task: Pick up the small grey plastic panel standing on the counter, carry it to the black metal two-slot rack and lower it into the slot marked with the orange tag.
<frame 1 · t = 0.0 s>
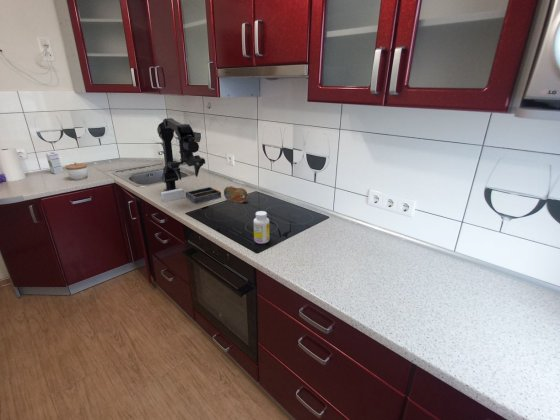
hand: (188, 178, 161), 15 cm above the worktop, tool pointing down, fingers open, 9 cm apart
lidded bowl: (79, 178, 207), on the worktop
rack: (203, 197, 176), on the worktop
supplement bottle: (261, 240, 129), on the worktop
panel: (173, 199, 173), on the worktop
syrup box: (57, 173, 218), on the worktop
tin: (236, 201, 172), on the worktop
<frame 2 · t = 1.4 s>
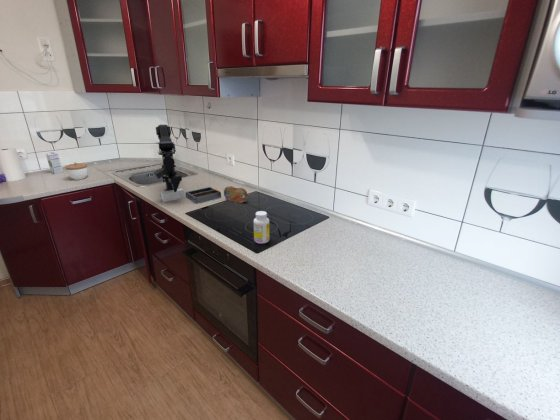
hand: (171, 189, 171), 5 cm above the worktop, tool pointing down, fingers open, 9 cm apart
nothing on the worktop moved.
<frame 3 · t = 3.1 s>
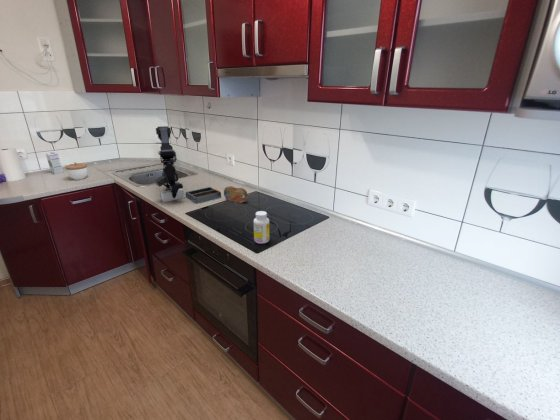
hand: (172, 197, 173), 1 cm above the worktop, tool pointing down, fingers closed on panel, 3 cm apart
panel: (173, 198, 173), on the worktop, touching gripper
everything else where it was.
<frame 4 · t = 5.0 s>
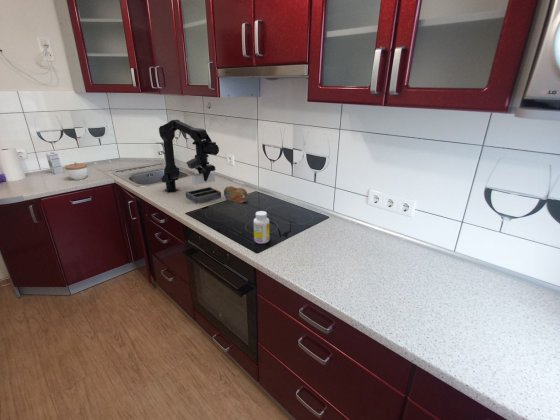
hand: (204, 180, 170), 11 cm above the worktop, tool pointing down, fingers closed on panel, 3 cm apart
panel: (204, 182, 170), point 10 cm above the worktop, touching gripper
everything else where it was.
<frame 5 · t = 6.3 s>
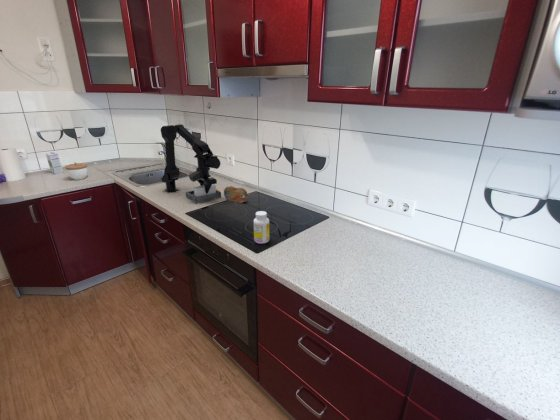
hand: (205, 192, 173), 4 cm above the worktop, tool pointing down, fingers closed on panel, 3 cm apart
panel: (205, 194, 173), point 3 cm above the worktop, touching gripper
everything else where it was.
when the fingers open (3 cm above the worktop, at t = 7.1 s): panel drops 1 cm, resting on rack.
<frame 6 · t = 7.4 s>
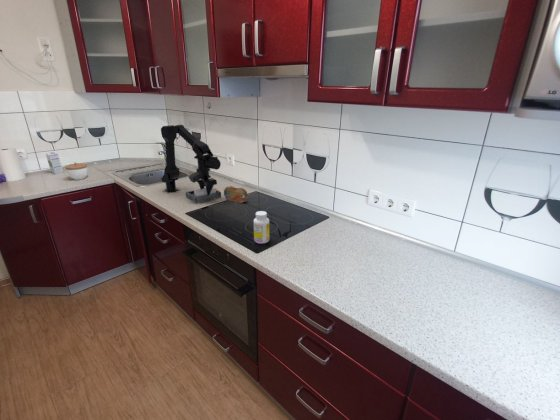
hand: (205, 193, 173), 3 cm above the worktop, tool pointing down, fingers open, 7 cm apart
panel: (205, 197, 174), point 1 cm above the worktop, touching rack
everything else where it was.
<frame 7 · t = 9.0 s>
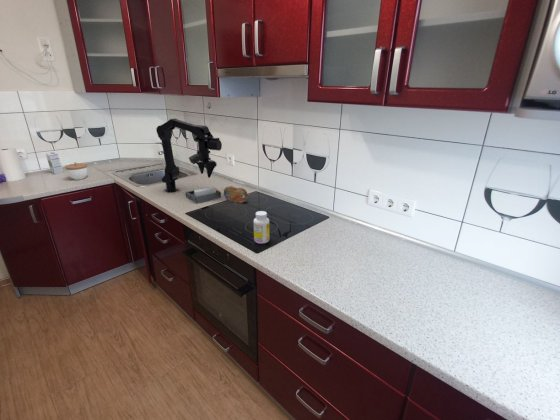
hand: (205, 175, 175), 12 cm above the worktop, tool pointing down, fingers open, 9 cm apart
nothing on the worktop moved.
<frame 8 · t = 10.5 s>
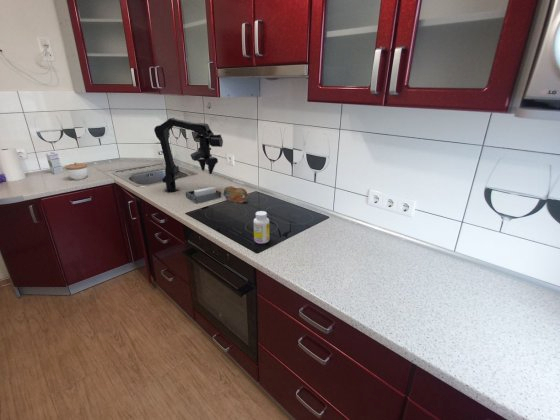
hand: (206, 172, 179), 13 cm above the worktop, tool pointing down, fingers open, 9 cm apart
nothing on the worktop moved.
at the end: panel 0.1 cm from the target spot on the rack, point 0.9 cm above the rack's base; panel tilted 0°; the gripper is holding nothing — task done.
